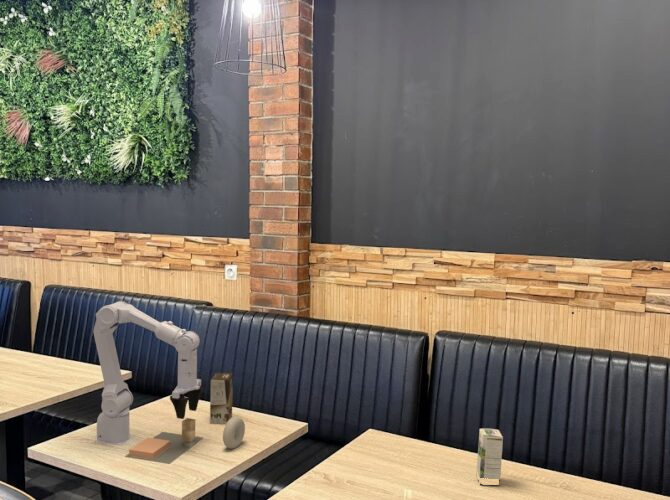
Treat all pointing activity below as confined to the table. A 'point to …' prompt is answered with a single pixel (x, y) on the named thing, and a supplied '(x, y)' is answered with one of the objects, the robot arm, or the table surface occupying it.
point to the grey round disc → (233, 432)
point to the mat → (173, 451)
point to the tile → (149, 448)
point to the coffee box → (221, 398)
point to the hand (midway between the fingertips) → (186, 414)
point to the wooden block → (188, 432)
